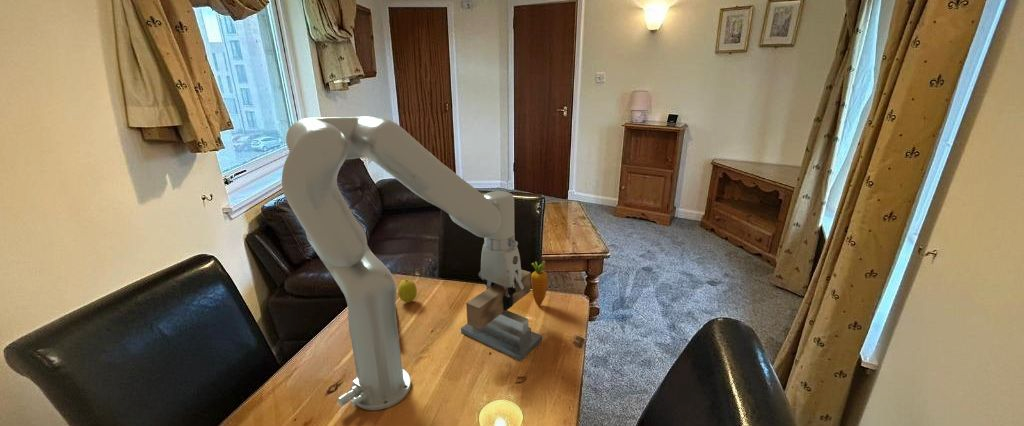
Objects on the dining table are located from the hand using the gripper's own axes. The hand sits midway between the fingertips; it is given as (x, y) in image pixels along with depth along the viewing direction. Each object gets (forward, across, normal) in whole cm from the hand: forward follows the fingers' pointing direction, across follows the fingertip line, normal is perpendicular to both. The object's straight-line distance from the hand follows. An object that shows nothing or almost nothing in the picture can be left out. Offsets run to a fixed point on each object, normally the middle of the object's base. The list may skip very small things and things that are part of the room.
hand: (500, 304), depth 106 cm
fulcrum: (+10, 0, 0) cm, 10 cm away
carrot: (+10, 0, -19) cm, 21 cm away
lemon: (+10, +34, +3) cm, 36 cm away
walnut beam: (+1, 0, 0) cm, 1 cm away
